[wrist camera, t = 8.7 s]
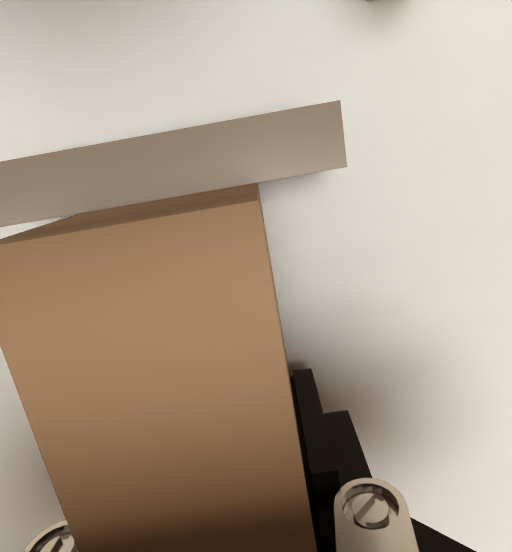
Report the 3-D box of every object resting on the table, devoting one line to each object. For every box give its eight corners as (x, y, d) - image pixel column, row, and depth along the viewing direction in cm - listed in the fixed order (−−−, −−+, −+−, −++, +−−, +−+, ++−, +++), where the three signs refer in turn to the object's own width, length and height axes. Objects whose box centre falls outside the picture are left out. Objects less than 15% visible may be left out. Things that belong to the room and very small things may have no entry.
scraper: (362, 483, 13) (447, 740, 7) (149, 513, 13) (69, 781, 8) (318, 114, 10) (405, 56, 4) (43, 164, 10) (-225, 172, 5)
